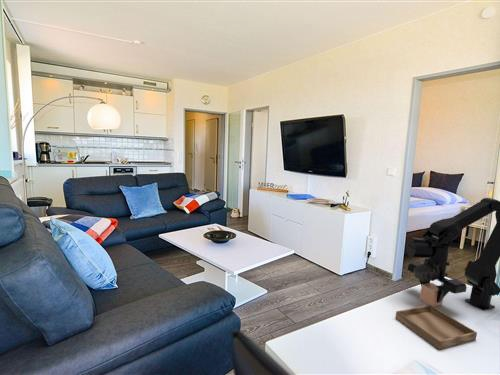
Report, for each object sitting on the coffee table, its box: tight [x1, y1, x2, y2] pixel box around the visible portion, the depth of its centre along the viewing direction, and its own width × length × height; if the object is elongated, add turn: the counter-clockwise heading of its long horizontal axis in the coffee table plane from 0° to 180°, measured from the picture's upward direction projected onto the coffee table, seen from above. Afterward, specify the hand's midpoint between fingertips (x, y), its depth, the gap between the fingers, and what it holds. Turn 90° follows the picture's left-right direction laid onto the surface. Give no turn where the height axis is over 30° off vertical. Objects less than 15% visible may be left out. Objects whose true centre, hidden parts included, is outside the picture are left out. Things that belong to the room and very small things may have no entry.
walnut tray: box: [395, 304, 478, 351], centre depth 88 cm, size 15×15×2 cm
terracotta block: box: [419, 282, 444, 307], centre depth 104 cm, size 5×5×6 cm
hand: (431, 298), depth 104 cm, fingers closed on terracotta block, 5 cm apart
